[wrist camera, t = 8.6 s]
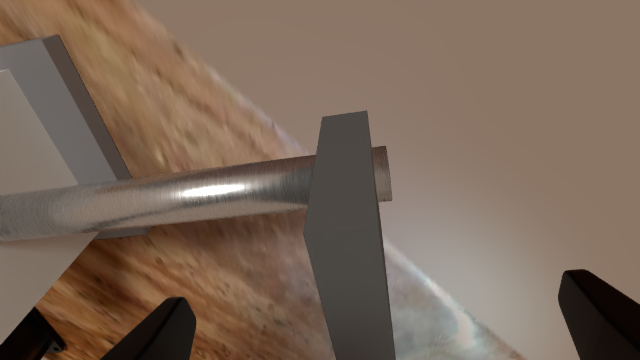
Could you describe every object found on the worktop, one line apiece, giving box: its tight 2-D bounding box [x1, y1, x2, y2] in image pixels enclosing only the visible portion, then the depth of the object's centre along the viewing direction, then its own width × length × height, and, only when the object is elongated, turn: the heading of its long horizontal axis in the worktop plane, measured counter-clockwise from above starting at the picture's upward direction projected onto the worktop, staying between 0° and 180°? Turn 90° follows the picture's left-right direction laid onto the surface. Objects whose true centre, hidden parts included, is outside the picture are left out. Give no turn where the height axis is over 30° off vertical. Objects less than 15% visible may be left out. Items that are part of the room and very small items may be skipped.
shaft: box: [0, 111, 396, 360], centre depth 13 cm, size 19×5×7 cm, turn 100°
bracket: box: [0, 35, 152, 344], centre depth 18 cm, size 6×12×10 cm, turn 10°
